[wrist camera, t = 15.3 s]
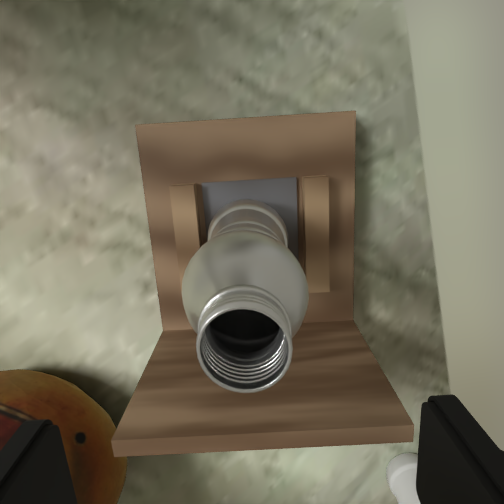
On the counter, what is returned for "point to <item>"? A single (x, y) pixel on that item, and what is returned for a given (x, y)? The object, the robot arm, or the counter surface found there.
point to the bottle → (403, 478)
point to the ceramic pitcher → (66, 430)
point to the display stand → (317, 275)
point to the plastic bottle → (245, 297)
